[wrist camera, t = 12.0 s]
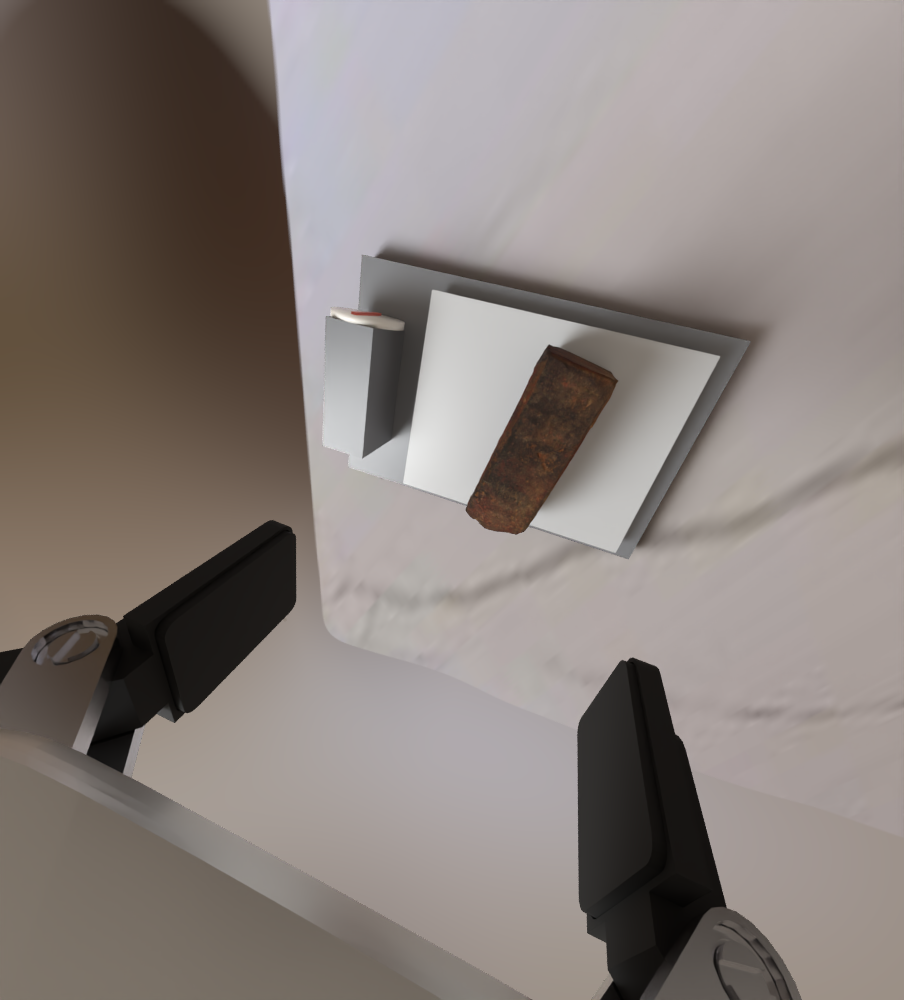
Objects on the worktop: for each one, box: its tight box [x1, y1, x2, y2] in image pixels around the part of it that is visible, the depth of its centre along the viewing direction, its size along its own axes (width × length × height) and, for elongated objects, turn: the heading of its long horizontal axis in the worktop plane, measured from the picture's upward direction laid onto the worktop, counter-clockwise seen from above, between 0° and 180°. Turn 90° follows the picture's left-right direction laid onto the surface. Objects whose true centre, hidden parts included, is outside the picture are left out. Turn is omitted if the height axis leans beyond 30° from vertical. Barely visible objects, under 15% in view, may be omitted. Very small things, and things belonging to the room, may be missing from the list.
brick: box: [466, 344, 618, 535], centre depth 21 cm, size 11×4×5 cm, turn 158°
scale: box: [322, 255, 751, 559], centre depth 23 cm, size 23×15×6 cm, turn 78°
